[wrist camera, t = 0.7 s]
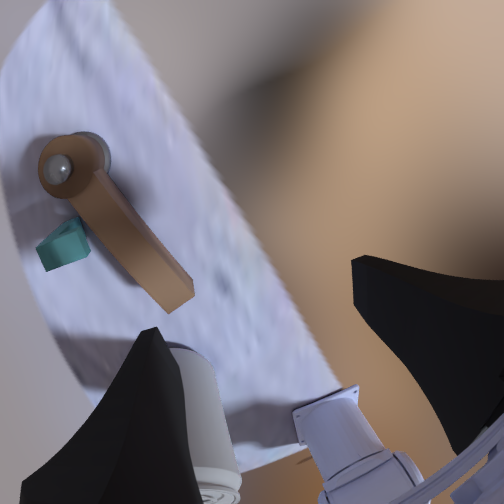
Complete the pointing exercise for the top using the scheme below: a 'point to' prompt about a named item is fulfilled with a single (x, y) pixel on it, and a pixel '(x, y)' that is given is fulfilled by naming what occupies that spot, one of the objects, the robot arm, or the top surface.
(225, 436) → the beverage can
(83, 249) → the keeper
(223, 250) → the top surface
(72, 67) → the top surface
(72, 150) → the latch bar
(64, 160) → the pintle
